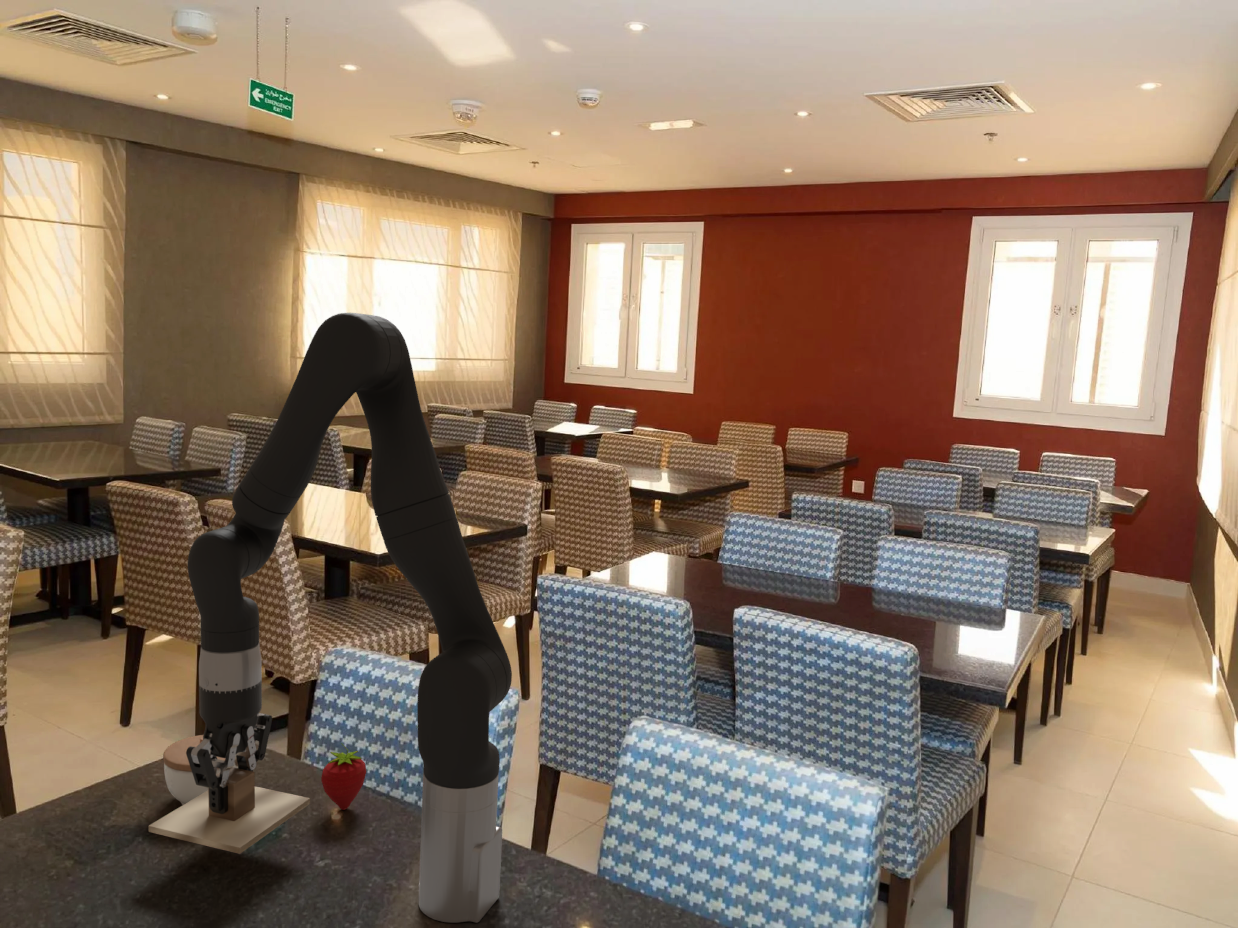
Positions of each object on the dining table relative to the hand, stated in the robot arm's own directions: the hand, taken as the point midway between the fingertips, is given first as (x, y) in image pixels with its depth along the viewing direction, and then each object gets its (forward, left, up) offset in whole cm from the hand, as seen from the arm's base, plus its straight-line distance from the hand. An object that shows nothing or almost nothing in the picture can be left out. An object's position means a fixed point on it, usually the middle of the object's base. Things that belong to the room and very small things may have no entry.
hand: (231, 803), depth 128 cm
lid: (0, 0, -2) cm, 2 cm away
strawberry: (-6, -17, -8) cm, 20 cm away
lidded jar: (+14, -11, -8) cm, 20 cm away
